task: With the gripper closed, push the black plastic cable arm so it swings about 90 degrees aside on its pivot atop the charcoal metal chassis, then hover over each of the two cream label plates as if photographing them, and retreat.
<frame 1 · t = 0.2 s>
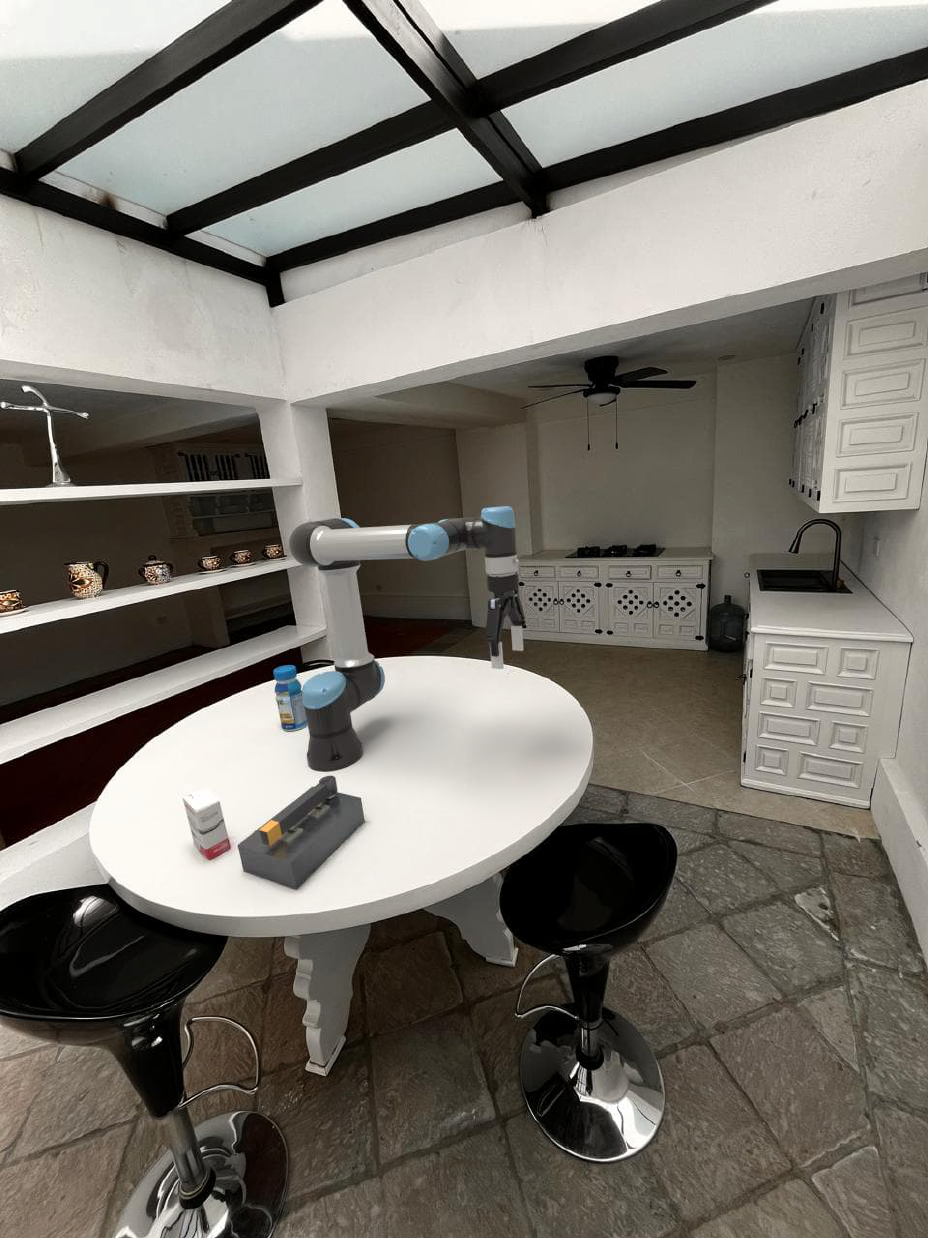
hand: (508, 658, 123), 28 cm above the table, fingers open, 13 cm apart
beverage bottle: (295, 726, 163), on the table
cable arm: (301, 807, 103), point 9 cm above the table, hinge at 0.0°
ink box: (212, 847, 108), on the table
chassis: (307, 845, 105), on the table
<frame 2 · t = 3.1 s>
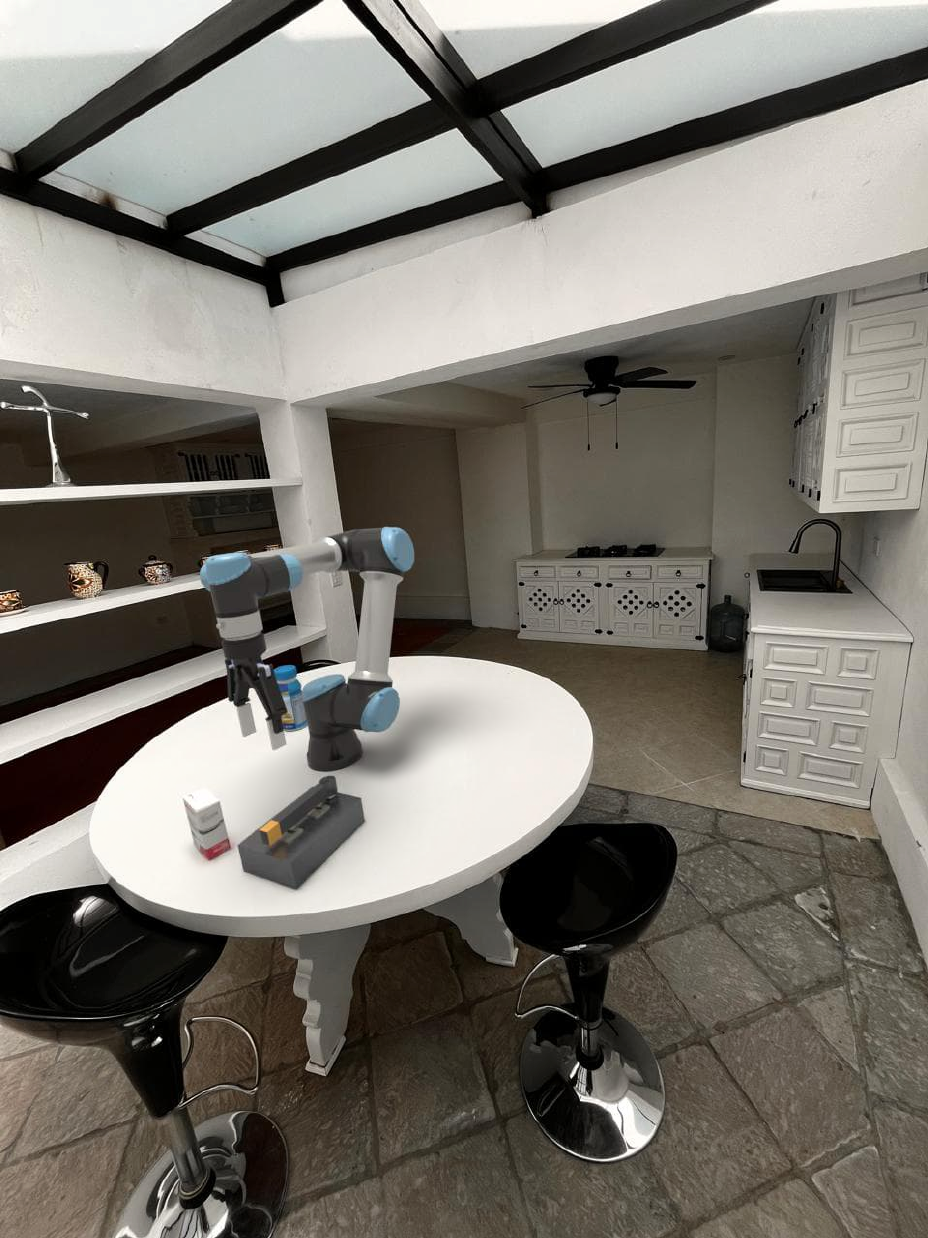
hand: (264, 740, 101), 24 cm above the table, fingers open, 10 cm apart
nothing on the table moved.
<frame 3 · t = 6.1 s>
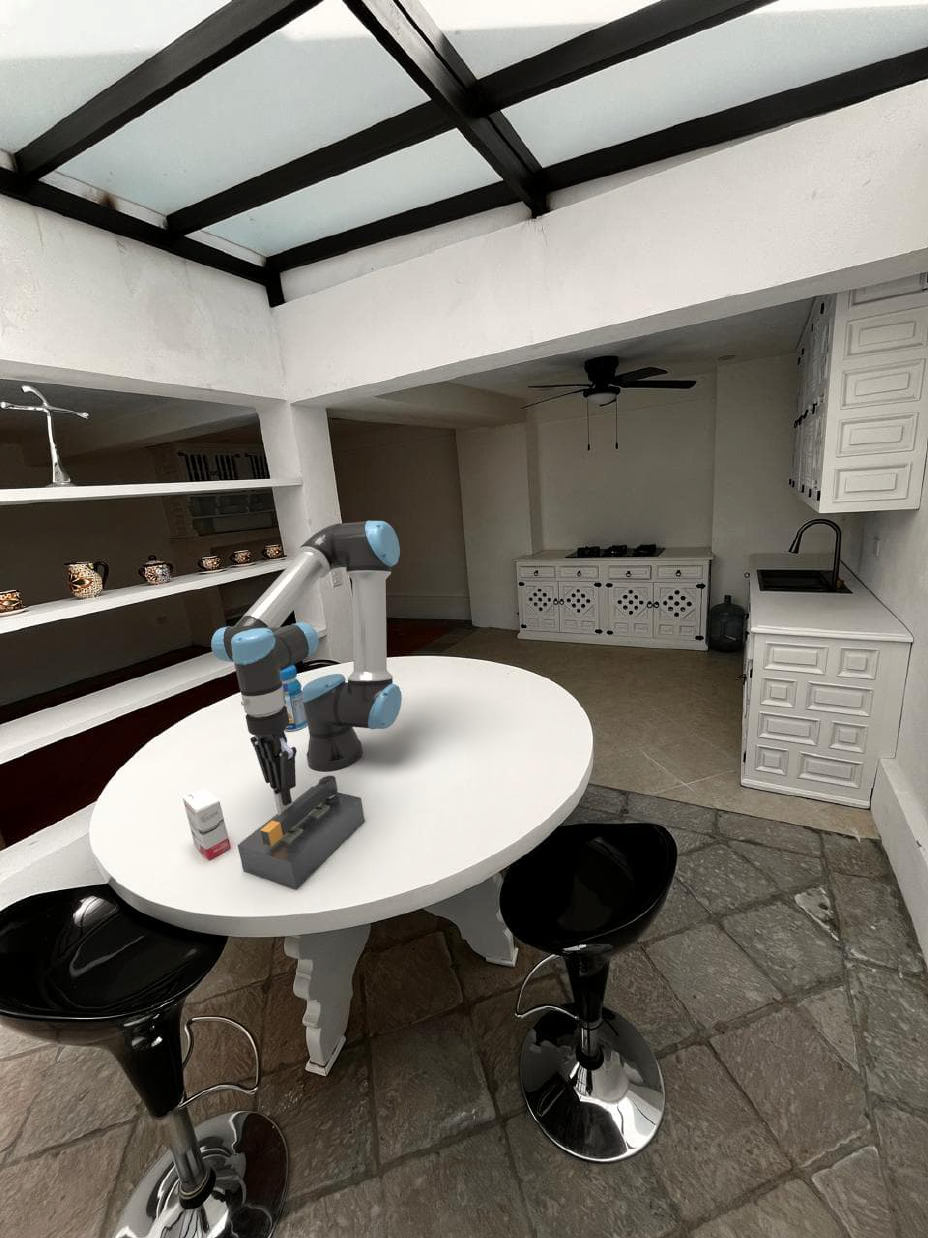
hand: (286, 816, 102), 8 cm above the table, fingers closed
cable arm: (302, 807, 103), point 9 cm above the table, hinge at 1.1°, touching gripper
everything else where it was.
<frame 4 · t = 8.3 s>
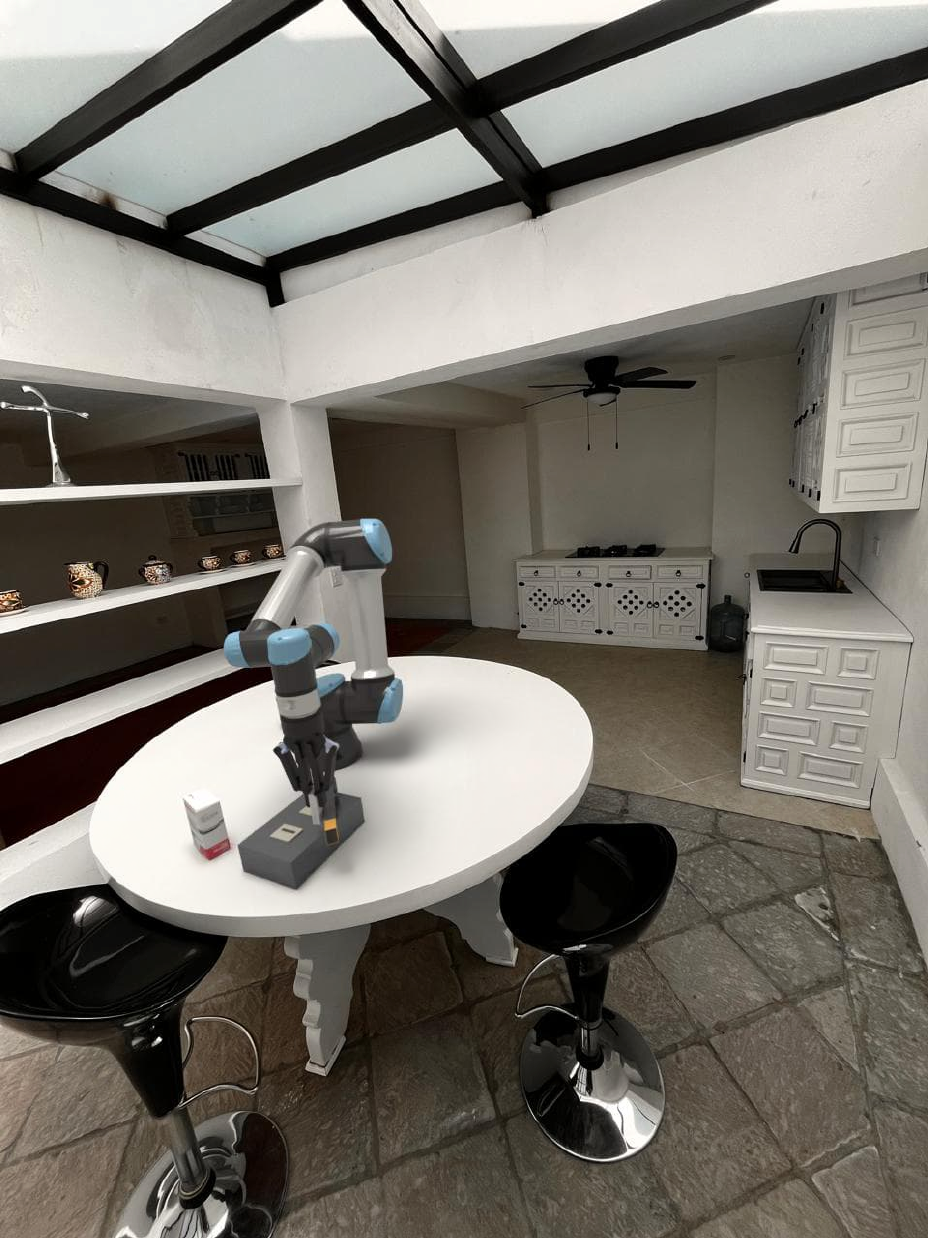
hand: (319, 820, 100), 8 cm above the table, fingers closed
cable arm: (329, 806, 103), point 9 cm above the table, hinge at 43.0°, touching gripper
everything else where it was.
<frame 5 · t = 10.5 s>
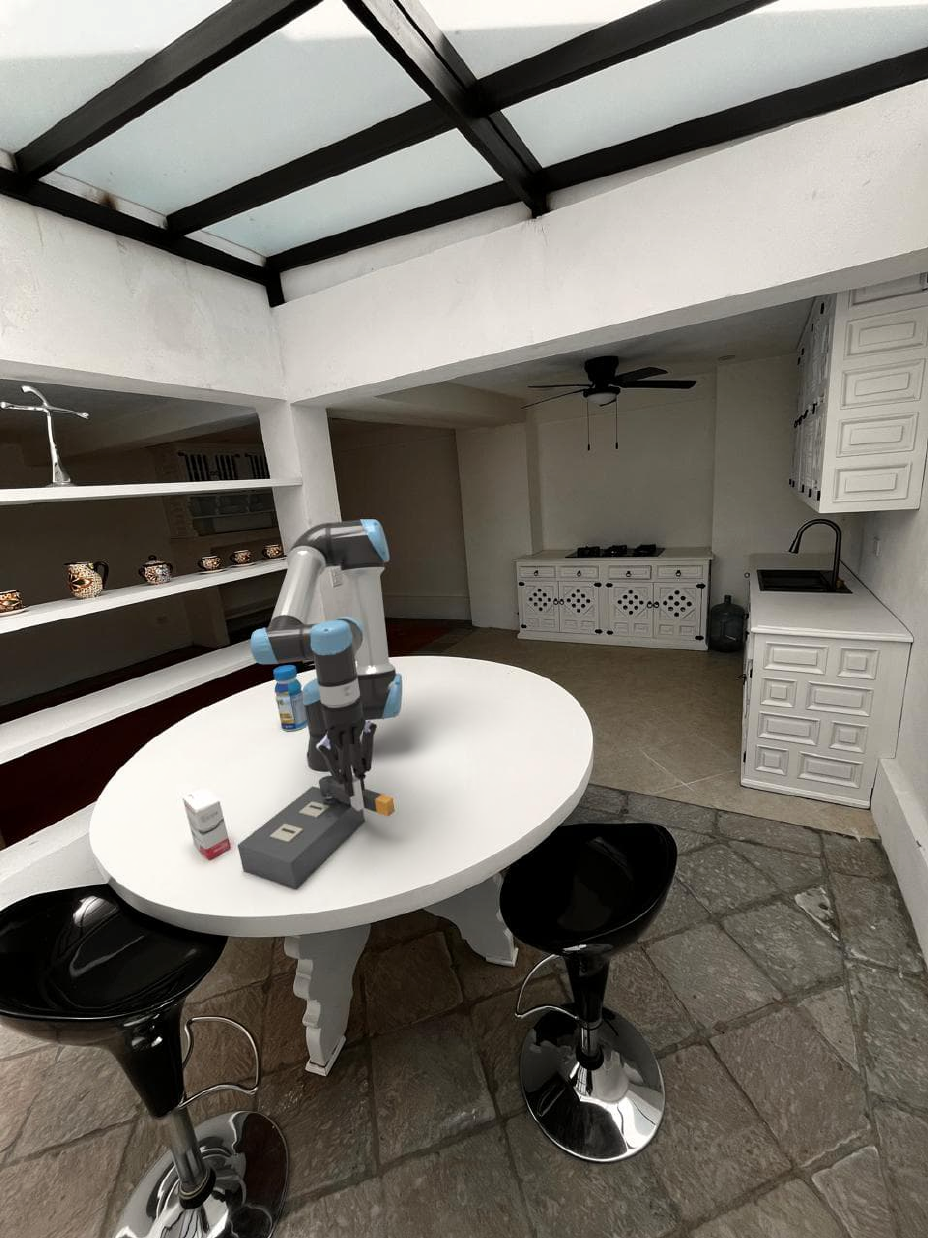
hand: (357, 806, 103), 8 cm above the table, fingers closed
cable arm: (354, 795, 106), point 9 cm above the table, hinge at 83.8°, touching gripper
everything else where it was.
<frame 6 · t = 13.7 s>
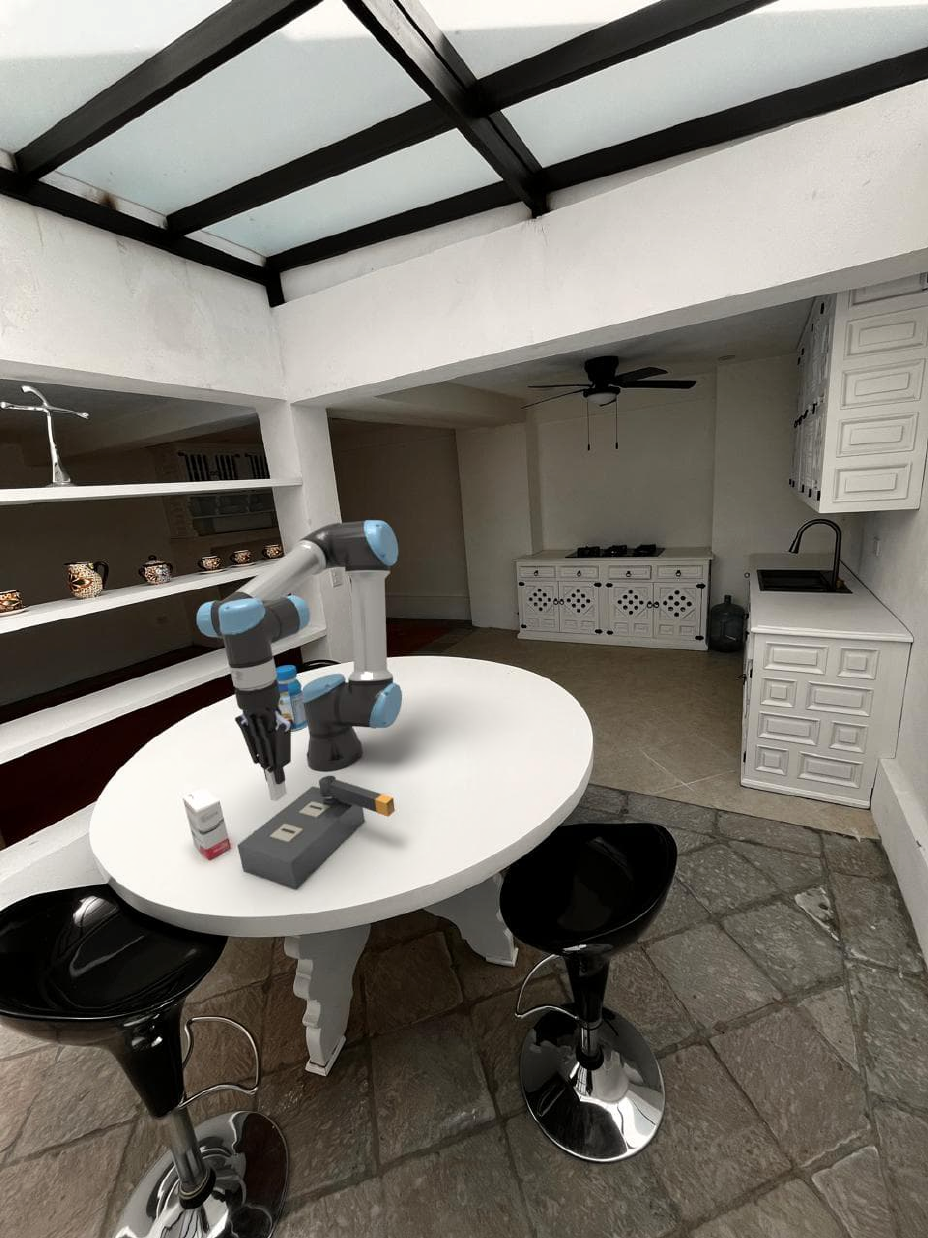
hand: (279, 796, 98), 14 cm above the table, fingers closed
cable arm: (354, 795, 106), point 9 cm above the table, hinge at 83.8°
everything else where it was.
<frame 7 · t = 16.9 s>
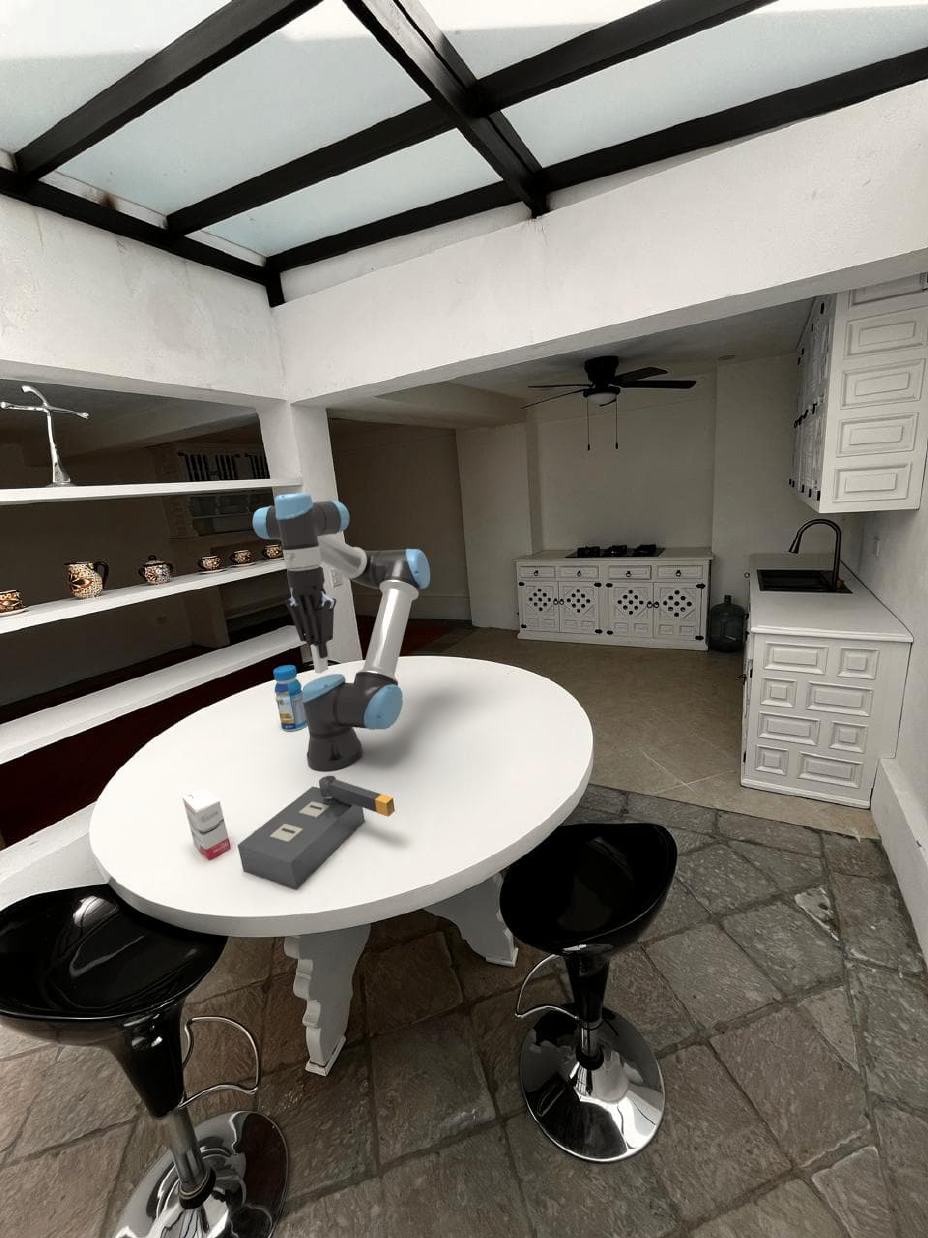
hand: (321, 671, 113), 32 cm above the table, fingers closed
nothing on the table moved.
at the end: cable arm at +84° (first picture: +0°) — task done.
